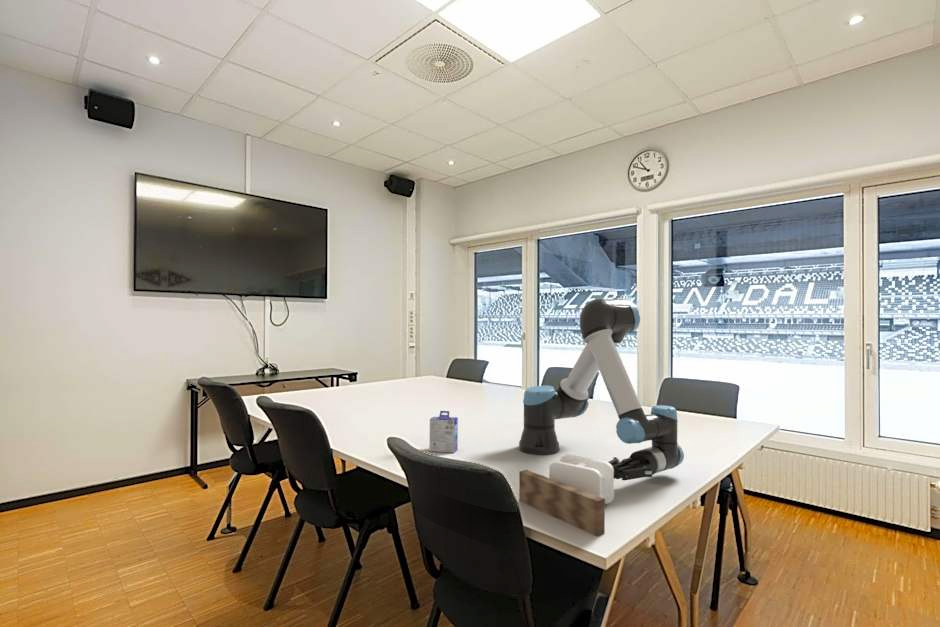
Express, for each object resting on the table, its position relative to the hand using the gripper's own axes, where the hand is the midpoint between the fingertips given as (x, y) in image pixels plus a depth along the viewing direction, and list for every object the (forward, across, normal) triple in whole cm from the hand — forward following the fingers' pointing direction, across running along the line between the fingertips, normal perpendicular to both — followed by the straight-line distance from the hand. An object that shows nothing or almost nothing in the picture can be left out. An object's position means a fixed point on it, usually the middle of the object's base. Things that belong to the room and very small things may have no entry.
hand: (596, 477), depth 129 cm
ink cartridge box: (+6, +66, -7) cm, 67 cm away
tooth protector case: (+5, +2, -7) cm, 9 cm away
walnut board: (+15, 0, -6) cm, 17 cm away
